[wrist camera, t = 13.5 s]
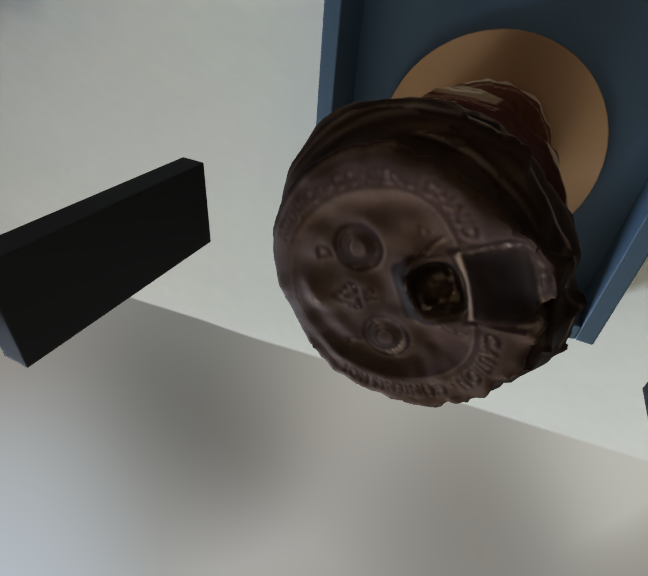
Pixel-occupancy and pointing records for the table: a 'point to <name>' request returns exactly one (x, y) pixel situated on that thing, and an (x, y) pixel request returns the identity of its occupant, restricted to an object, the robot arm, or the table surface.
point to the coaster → (535, 78)
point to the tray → (570, 31)
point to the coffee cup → (431, 242)
